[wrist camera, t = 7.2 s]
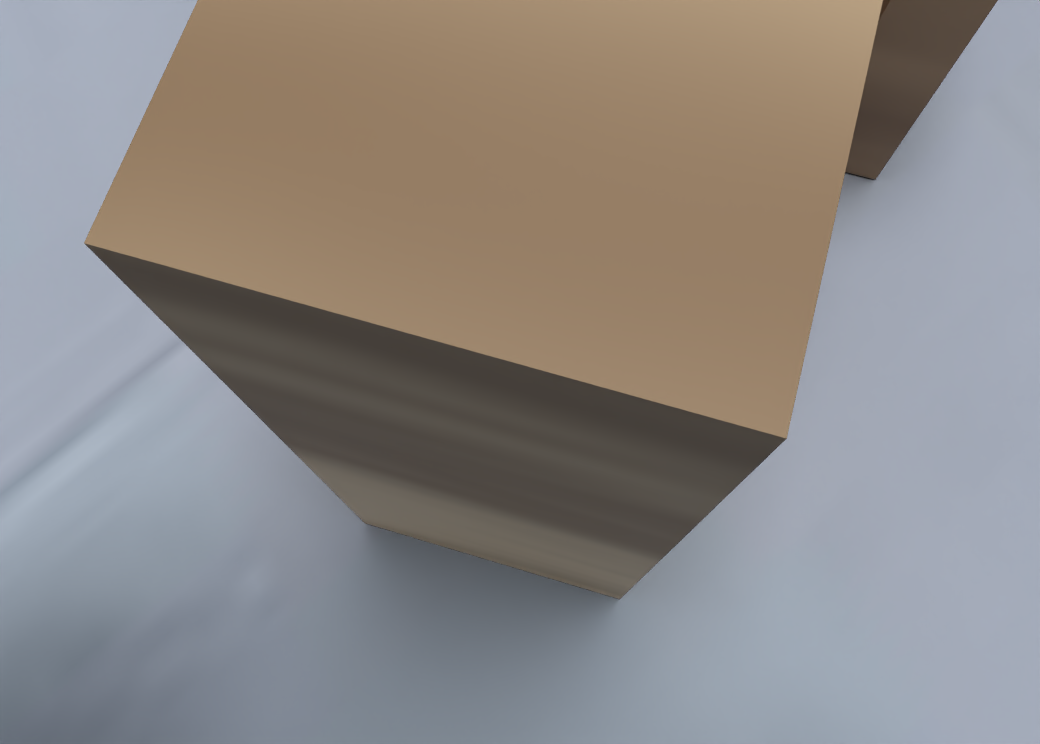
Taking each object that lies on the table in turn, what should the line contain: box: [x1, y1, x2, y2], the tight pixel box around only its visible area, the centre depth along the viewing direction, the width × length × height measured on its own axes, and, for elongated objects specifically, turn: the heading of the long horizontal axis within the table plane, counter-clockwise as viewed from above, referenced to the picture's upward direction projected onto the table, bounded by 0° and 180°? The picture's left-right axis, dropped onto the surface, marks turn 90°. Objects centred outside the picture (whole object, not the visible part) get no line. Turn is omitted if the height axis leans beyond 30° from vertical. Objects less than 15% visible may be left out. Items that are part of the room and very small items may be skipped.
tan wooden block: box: [84, 0, 883, 599], centre depth 12 cm, size 12×4×10 cm, turn 164°
